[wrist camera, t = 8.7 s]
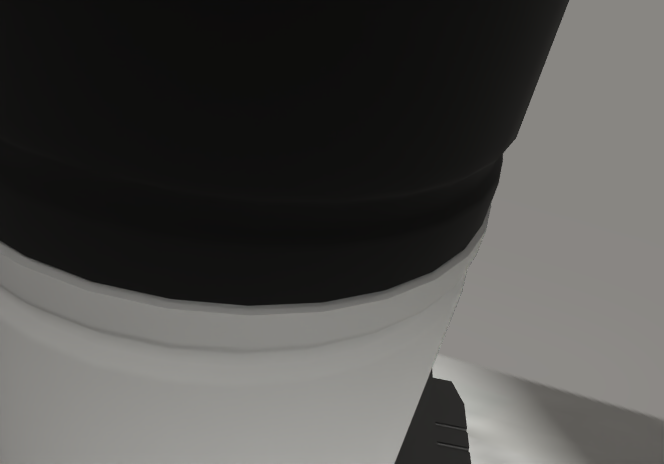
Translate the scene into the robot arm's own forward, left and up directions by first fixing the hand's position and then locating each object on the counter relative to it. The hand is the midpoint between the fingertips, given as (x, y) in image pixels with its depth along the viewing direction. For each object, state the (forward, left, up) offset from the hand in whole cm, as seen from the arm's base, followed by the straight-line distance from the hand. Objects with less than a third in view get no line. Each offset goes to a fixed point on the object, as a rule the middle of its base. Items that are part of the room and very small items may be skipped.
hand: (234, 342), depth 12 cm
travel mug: (+1, +2, -11) cm, 11 cm away
